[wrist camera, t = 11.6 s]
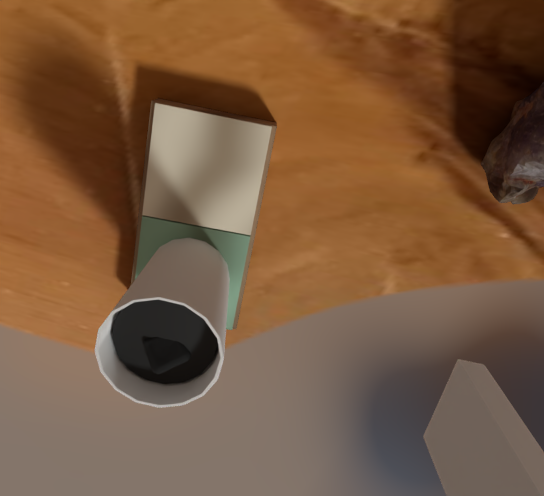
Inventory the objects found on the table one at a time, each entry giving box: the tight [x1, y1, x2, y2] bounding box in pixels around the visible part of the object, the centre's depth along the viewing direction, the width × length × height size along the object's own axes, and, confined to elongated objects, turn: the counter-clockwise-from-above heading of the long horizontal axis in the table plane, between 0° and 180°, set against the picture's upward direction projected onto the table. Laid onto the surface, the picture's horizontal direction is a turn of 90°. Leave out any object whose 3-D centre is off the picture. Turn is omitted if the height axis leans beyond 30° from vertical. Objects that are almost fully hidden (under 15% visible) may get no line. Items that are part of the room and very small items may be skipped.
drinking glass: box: [95, 238, 230, 408], centre depth 31 cm, size 7×7×10 cm
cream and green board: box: [131, 98, 277, 330], centre depth 35 cm, size 8×15×2 cm, turn 169°
